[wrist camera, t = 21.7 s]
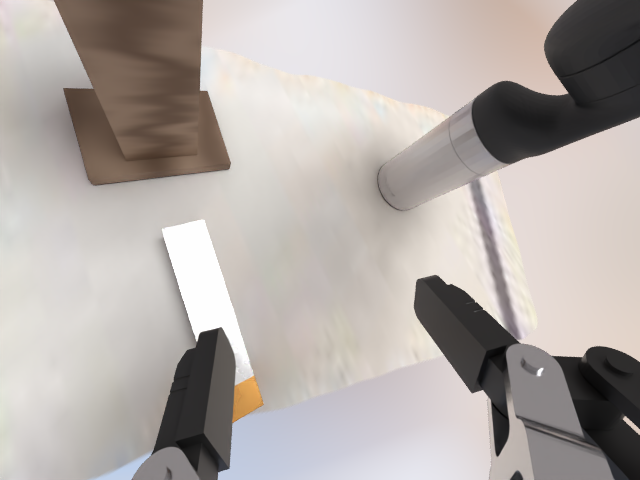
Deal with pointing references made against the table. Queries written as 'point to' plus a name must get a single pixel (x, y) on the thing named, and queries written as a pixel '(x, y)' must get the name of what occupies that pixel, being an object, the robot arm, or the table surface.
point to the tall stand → (141, 90)
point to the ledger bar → (210, 303)
